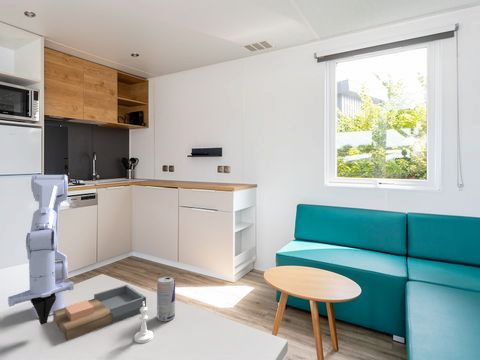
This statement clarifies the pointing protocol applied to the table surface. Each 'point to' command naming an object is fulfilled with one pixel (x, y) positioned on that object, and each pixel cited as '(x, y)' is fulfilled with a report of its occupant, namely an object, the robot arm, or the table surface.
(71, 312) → the terracotta tile
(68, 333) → the walnut plate
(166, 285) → the energy drink
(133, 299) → the tray
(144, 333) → the chess piece
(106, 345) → the table surface
